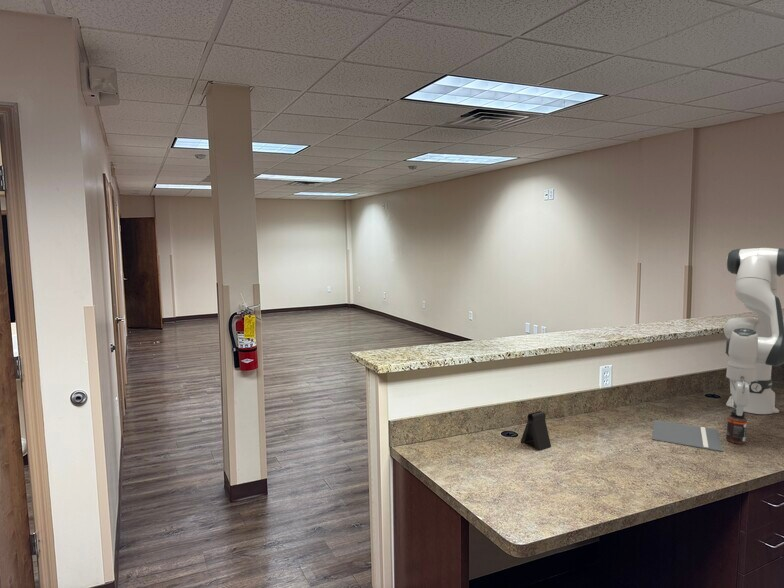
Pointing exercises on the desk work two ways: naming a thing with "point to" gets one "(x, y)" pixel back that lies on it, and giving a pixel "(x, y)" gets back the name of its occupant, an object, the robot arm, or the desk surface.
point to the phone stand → (536, 432)
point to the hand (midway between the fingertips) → (737, 411)
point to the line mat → (687, 435)
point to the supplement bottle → (736, 428)
